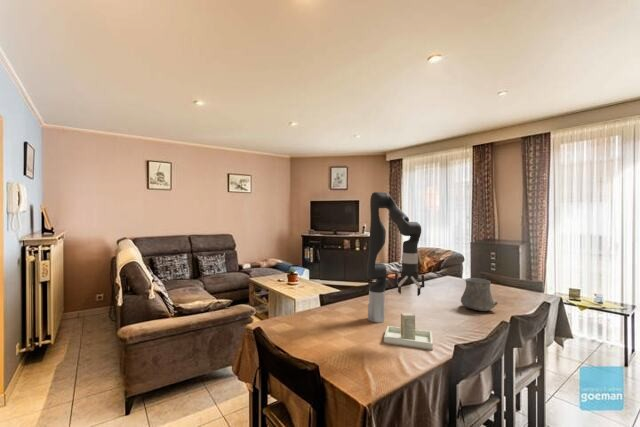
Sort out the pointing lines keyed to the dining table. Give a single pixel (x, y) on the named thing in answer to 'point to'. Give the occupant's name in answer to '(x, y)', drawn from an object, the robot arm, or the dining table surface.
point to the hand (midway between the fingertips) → (409, 294)
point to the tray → (421, 339)
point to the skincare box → (408, 326)
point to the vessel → (478, 295)
